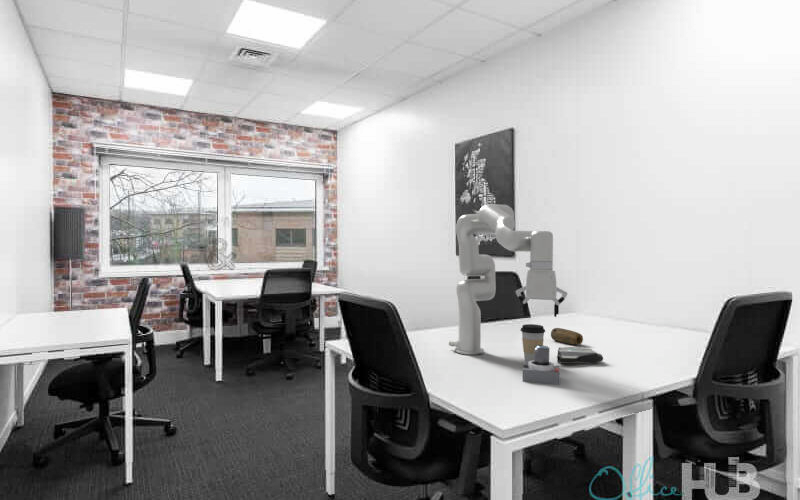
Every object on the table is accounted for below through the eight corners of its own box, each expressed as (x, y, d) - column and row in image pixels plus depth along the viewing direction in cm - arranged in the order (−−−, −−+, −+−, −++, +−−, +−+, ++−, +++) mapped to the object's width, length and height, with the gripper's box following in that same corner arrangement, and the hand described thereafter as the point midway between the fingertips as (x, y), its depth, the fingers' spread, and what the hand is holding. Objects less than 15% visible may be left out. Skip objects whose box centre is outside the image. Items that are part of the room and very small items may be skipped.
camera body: (522, 381, 163) (522, 364, 163) (523, 374, 172) (523, 358, 171) (559, 384, 159) (559, 367, 159) (558, 377, 168) (558, 361, 168)
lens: (533, 368, 164) (533, 347, 164) (534, 364, 169) (535, 344, 168) (548, 370, 162) (549, 348, 162) (549, 366, 167) (549, 345, 167)
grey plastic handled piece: (607, 364, 187) (607, 351, 187) (561, 367, 182) (561, 353, 182) (581, 355, 203) (581, 343, 203) (538, 357, 198) (538, 345, 198)
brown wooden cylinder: (548, 341, 230) (548, 327, 230) (557, 340, 234) (557, 326, 234) (576, 347, 218) (576, 332, 218) (584, 345, 222) (584, 331, 222)
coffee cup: (532, 368, 180) (532, 328, 180) (515, 362, 189) (515, 325, 188) (550, 365, 185) (550, 326, 184) (533, 360, 193) (533, 323, 193)
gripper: (515, 266, 164) (514, 315, 164) (568, 267, 159) (567, 318, 159) (516, 265, 171) (516, 312, 171) (567, 266, 166) (566, 315, 166)
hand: (540, 315), depth 165 cm, fingers open, 9 cm apart
